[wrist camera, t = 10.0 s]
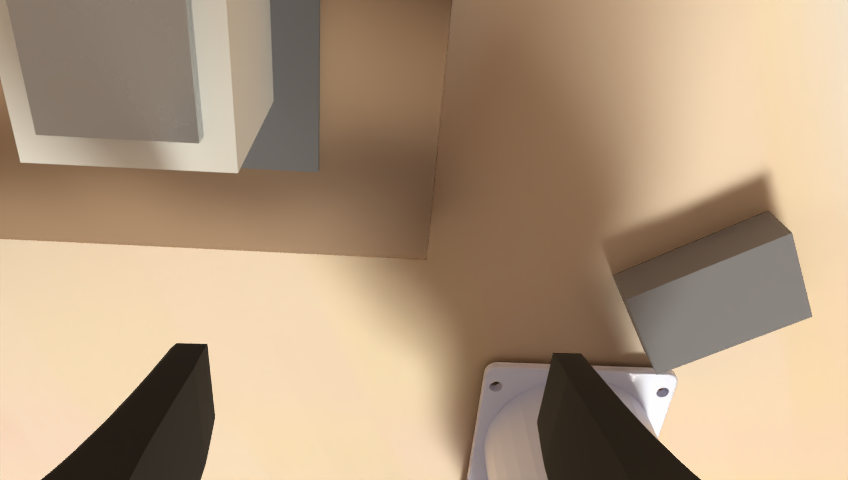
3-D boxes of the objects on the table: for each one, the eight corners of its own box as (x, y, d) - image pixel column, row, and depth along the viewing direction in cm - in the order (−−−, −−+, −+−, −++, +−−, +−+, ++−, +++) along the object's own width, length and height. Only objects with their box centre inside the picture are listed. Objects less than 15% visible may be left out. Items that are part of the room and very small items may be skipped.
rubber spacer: (785, 286, 27) (812, 316, 25) (640, 342, 28) (656, 375, 26) (764, 206, 25) (792, 233, 23) (610, 270, 26) (625, 299, 24)
